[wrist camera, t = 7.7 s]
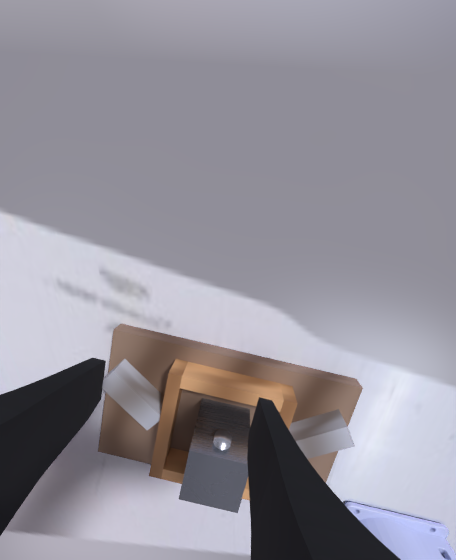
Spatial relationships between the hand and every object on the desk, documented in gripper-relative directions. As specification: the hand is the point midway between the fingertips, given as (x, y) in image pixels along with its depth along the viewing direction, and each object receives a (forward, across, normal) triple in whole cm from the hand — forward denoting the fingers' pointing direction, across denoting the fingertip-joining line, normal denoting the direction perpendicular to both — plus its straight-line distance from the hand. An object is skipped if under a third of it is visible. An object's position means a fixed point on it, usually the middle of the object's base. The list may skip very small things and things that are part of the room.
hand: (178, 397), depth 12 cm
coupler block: (+8, -3, +8) cm, 12 cm away
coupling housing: (+9, -3, +8) cm, 13 cm away
